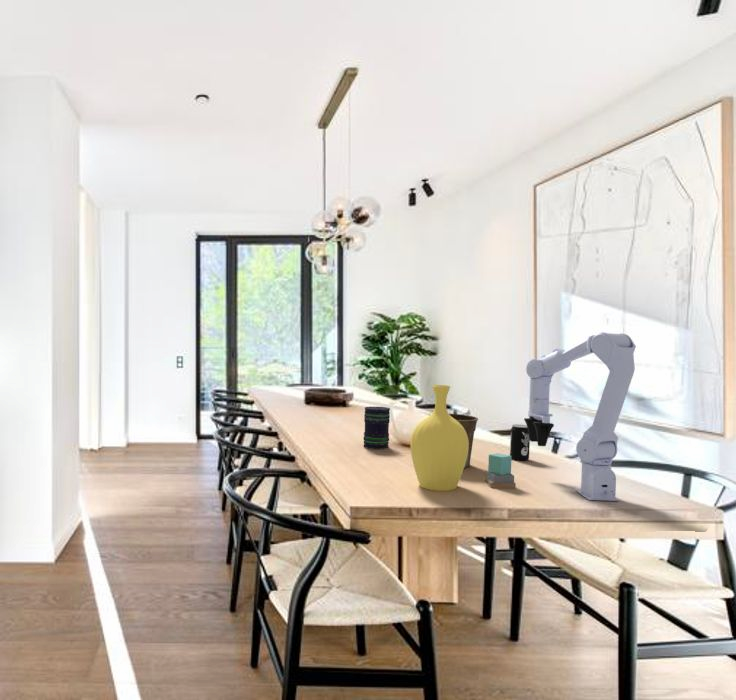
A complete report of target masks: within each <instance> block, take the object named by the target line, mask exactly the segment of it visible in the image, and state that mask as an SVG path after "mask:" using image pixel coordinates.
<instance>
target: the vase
mask: <svg viewBox="0 0 736 700" xmlns="http://www.w3.org/2000/svg"><path fill="white" fill-rule="evenodd" d="M432 389H433V392H434V394H435V404H434V405H435V406H434V410H433V412H432V413H430V414H431V415H430V414H429V415H428V416H426V417H424V418H423V419H422V420H421V421H419V423H418V424H416V426H415V428H414V429H413V432H412V433H411V437H410V453H411V459H412V463H413V467H414V472H415V475H416V479H417V482H418V484H419V486H420V487H421V488H422V489H426V490H430V491H437V492H438V491H439V492H449V491H454V490H456V489H457V487H458V484H459V482H460V480H461V477H462V475H463V472H464V469H465V468H464V467H465V463H466V460H467V456H468V450H469V441H468V436H467V433H466V431H465V429H464V428H463V426H462V425H461V424H460V423H459V422H458V421H456V420H455V419H454V418H453V417H451V416H450V415H449V414H450V413H449V412H448V410H447V409H448V408H447V398H448V394H449V392H450V390H451V386H450V385H444V384H443V385H442V384H434V385H432Z"/></svg>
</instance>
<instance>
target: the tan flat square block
mask: <svg viewBox="0 0 736 700" xmlns="http://www.w3.org/2000/svg"><path fill="white" fill-rule="evenodd" d="M484 482H485V483H486V484H487V485H488V487H489V488H491V489H492V488H493V489H494V488H495V489H516V488H517V487H516V483H515V482H514V483H493V482H492V481H490V480H489V479H488V478H486V476H485V477H484Z"/></svg>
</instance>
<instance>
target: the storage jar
mask: <svg viewBox="0 0 736 700" xmlns="http://www.w3.org/2000/svg"><path fill="white" fill-rule="evenodd" d="M390 409H391V408H390V407H386V406H365V407H364V416H363V417H364V419H363V420H364V432H363V448H365V449H368V450H387V449H389V443H390V433H389V432H390V431H389V429H390V425H389V424H390V418H391V411H390Z"/></svg>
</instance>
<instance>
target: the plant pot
mask: <svg viewBox="0 0 736 700" xmlns="http://www.w3.org/2000/svg"><path fill="white" fill-rule="evenodd" d="M431 414H432V413H430V414H429V415H431ZM448 414H449V415H450V416H451V417H453V418H454V419H455V420H456V421H458V422H459V423H460V424H461V425H462V426H463V428H464V429H465V431H466V433H467V436H468V441H469V450H468V456H467V460H466V463H465V467H464V469H466V468H469V467H470V465H471V458H472V457H471V456H472V451H473V444H474V443H473V442H474V435H475V431H476V429H477V423H478V421H479V417H477V416H473V415H468V414H460V413H448Z"/></svg>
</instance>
